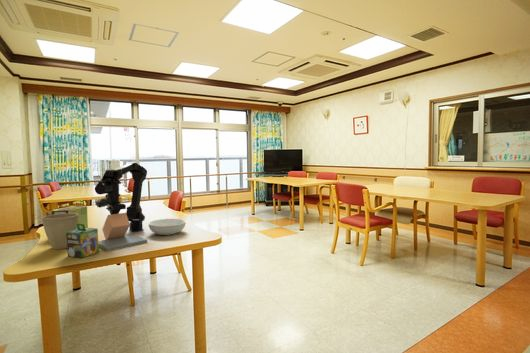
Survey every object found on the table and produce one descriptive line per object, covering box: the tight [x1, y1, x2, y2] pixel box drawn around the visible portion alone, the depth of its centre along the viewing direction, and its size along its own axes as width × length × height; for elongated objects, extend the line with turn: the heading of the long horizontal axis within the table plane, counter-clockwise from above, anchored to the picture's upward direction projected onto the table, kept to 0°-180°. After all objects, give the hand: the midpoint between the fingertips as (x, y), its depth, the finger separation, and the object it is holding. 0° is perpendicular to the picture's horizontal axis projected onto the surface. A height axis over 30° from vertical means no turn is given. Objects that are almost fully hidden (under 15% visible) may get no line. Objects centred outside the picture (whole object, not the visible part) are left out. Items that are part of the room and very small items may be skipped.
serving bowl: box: [148, 218, 186, 236], centre depth 171 cm, size 21×21×7 cm
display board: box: [98, 233, 148, 252], centre depth 150 cm, size 20×16×2 cm
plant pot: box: [41, 213, 78, 250], centre depth 143 cm, size 15×15×16 cm
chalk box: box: [66, 223, 100, 259], centre depth 132 cm, size 9×9×15 cm
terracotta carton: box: [102, 212, 130, 240], centre depth 154 cm, size 9×8×13 cm
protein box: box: [51, 205, 89, 229], centre depth 168 cm, size 10×15×16 cm
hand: (113, 220), depth 156 cm, fingers closed
